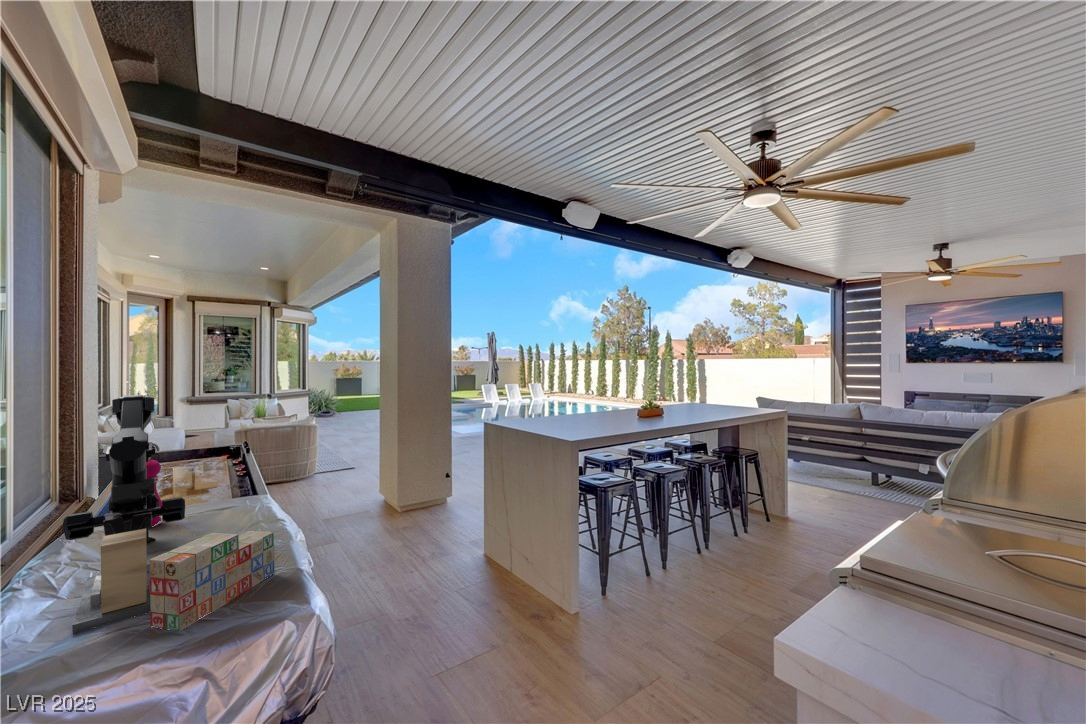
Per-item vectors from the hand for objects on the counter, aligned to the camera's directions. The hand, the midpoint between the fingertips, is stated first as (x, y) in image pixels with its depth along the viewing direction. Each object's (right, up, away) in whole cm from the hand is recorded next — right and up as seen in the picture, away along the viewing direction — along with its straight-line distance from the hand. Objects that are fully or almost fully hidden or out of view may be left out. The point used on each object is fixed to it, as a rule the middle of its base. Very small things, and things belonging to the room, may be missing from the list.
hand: (127, 555), depth 92 cm
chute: (+1, -7, -1) cm, 7 cm away
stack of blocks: (+20, -7, -3) cm, 22 cm away
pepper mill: (-27, -7, +36) cm, 46 cm away
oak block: (+6, -6, -7) cm, 11 cm away
